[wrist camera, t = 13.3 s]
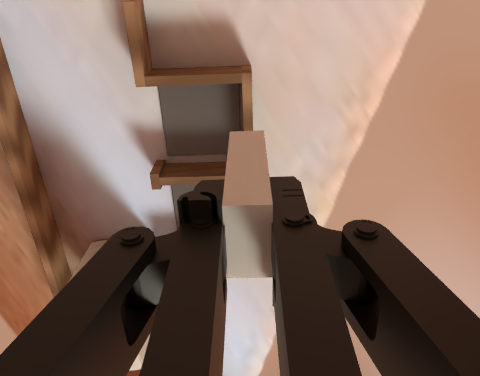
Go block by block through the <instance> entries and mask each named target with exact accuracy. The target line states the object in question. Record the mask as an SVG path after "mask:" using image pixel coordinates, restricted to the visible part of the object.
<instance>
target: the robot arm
mask: <svg viewBox="0 0 480 376" xmlns="http://www.w3.org/2000/svg"><path fill="white" fill-rule="evenodd" d="M177 207H178V214H179V222H180V225H179V229H178V230H177V231H175V232H173V233H170V234H167V235H163V236H158V237H155V236H154V233H153V231H151V230H150V229H149V228H145V227H129V228H125V229H123V230H121V231H118V232H117V233H115V234H114V235H113V236H111V237H110V239H109V240H108V241H107V242H106V243H105V244H104V245H103V246H102V247H101V248H100V249H99V250H98V251H97V252H96V253H95V255H94V256H93V257H92V258H91V259H90V260H89V261H88V262H87V263H86V264H85V265H84V266H83V267H82V268H81V269H80V271H79V272H78V273H77V274H76V275H75V276H74V277H73V278H72V279H71V280H70V281H69V282H68V283H67V284H66V285H65V287H64V288H63V289H62V290H61V291H60V292H59V293H58V294H57V295H56V296H55V297H54V298H53V299H52V300H51V301H50V303H49V304H48V305H47V306H46V307H45V308H44V309H43V310H42V311H41V312H40V313H39V314H38V315H37V316H36V317H35V318H34V320H33V321H32V322H31V323H30V324H29V325H28V326H27V327H26V328H25V329H24V330H23V331H22V332H21V333H20V334H19V336H18V337H17V338H16V339H15V340H14V341H13V342H12V343H11V344H10V345H9V346H8V347H7V348H6V349H5V350H4V352H3V353H2V354H1V355H0V376H126V375H127V373H128V371H129V370H130V368H131V366H132V364H133V363H134V361H135V359H136V357H137V356H138V354H139V352H140V350H141V349H142V347H143V345H144V343H145V342H146V340H147V338H148V336H149V335H150V337H149V341H148V345H147V348H146V352H145V356H144V360H143V363H142V367H141V371H140V374H139V376H222V372H223V354H224V336H225V318H226V300H227V280H226V273H227V278H258V277H273V306H274V309H275V321H276V332H277V344H278V356H279V366H280V376H362V375H361V371H360V368H359V364H358V361H357V357H356V354H355V351H354V347H353V344H352V340H351V337H350V334H349V330H348V327H347V324H346V320H345V318H346V319H347V321H348V322H349V324H350V326H351V327H352V329H353V331H354V332H355V334H356V335H357V337H358V338H359V340H360V342H361V343H362V345H363V346H364V348H365V350H366V351H367V353H368V355H369V356H370V358H371V359H372V361H373V363H374V364H375V366H376V367H377V369H378V371H379V372H380V374H381V375H382V376H480V318H479V317H477V315H476V314H474V312H472V311H471V310H470V309H469V308H468V307H467V306H466V305H465V304H464V303H463V302H462V301H461V300H460V299H459V298H458V297H457V296H456V295H455V294H454V293H453V292H452V291H451V290H450V289H449V288H448V287H447V286H446V285H445V284H444V283H443V282H442V281H441V280H439V279H438V278H437V277H436V276H435V275H434V274H433V273H432V272H431V271H430V270H429V269H428V268H427V267H426V266H425V265H424V264H423V263H422V262H421V261H420V260H419V259H418V258H417V257H416V256H415V255H414V254H413V253H412V252H411V251H410V250H408V248H406V246H404V245H403V244H402V243H401V242H400V241H399V240H398V239H397V238H396V237H395V236H394V235H393V234H392V233H391V232H390V231H389V230H388V229H387V228H386V227H384V226H383V225H381V224H379V223H376V222H374V221H370V220H354V221H351V222H348V223H347V224H345V225H344V226H343V230H342V231H336V230H331V229H326V228H324V227H321V226H319V225H317V221H316V219H315V218H314V216H313V215H311V214H309V210H308V207H307V203H306V200H305V196H304V192H303V189H302V185H301V182H300V181H298V180H297V179H296V178H295V177H294V176H290V177H269V170H268V162H267V154H266V146H265V138H264V131H232V132H230V134H229V144H228V153H227V163H226V173H225V179H219V180H201V181H200V182H199V183H198V184H197V185H196V186H195V188H194V191H190V192H187V193H185V194H183V195H181V196H180V197H179V198H178V200H177ZM344 316H345V317H344Z"/></svg>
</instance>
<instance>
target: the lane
mask: <svg viewBox="0 0 480 376" xmlns="http://www.w3.org/2000/svg"><path fill="white" fill-rule="evenodd" d="M123 8H124V15H125V21H126V27H127V34H128V40H129V46H130V53H131V59H132V65H133V71H134V78H135V84H136V87H149V86H177V85H206V84H234V83H242V95H243V124H244V131H253V112H252V72H251V66H227V67H199V68H172V69H152V63H151V56H150V49H149V42H148V34H147V27H146V20H145V12H144V5H143V0H130V1H123ZM0 140H1V143H2V146H3V149H4V152H5V155H6V158H7V161H8V164H9V167H10V170H11V172H12V175H13V178H14V181H15V184H16V187H17V190H18V193H19V196H20V199H21V202H22V205H23V208H24V211H25V214H26V217H27V220H28V223H29V226H30V229H31V232H32V235H33V238H34V241H35V244H36V247H37V249H38V252H39V255H40V258H41V261H42V264H43V267H44V270H45V273H46V276H47V279H48V282H49V285H50V288H51V291H52V294H53V297H55V296H56V295H57V294H58V293H59V292H60V291H61V290H62V289H63V288H64V287H65V285H66V284H67V283H68V282H69V280H70V278H71V277H72V276H71V272H70V269H69V266H68V262H67V259H66V256H65V252H64V249H63V246H62V242H61V239H60V236H59V232H58V229H57V226H56V222H55V219H54V216H53V212H52V209H51V206H50V202H49V199H48V196H47V192H46V189H45V186H44V182H43V179H42V176H41V172H40V169H39V166H38V162H37V159H36V156H35V152H34V149H33V146H32V142H31V139H30V136H29V132H28V129H27V126H26V122H25V119H24V116H23V112H22V109H21V106H20V102H19V99H18V96H17V92H16V89H15V86H14V82H13V79H12V76H11V72H10V69H9V66H8V62H7V59H6V56H5V52H4V49H3V46H2V42H1V39H0ZM226 163H227V162H206V163H172V164H165V160H157V161H156V163H155V165H154V167H153V169H152V171H151V173H150V179H151V185H152V189H161V187H162V185H194V184H198V183H199V182H200V181H201V180H219V179H225V173H226Z"/></svg>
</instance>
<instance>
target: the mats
mask: <svg viewBox="0 0 480 376" xmlns="http://www.w3.org/2000/svg"><path fill="white" fill-rule="evenodd" d="M158 87H159V94H160V102H161V110H162V117H163V125H164V132H165V140H166V147H167V155H168V156H172V155H205V154H227V153H228V144H229V134H230V132H232V131H240V117H239V91H238V83H234V84H206V85H177V86H158ZM196 185H197V184H194V185H172V193H173V200H174V208H175V215H176V223H177V230H178V229H179V225H180V222H179V214H178V207H177V200H178V198H179V197H180V196H181V195H183V194H185V193H187V192H190V191H194V188H195V186H196Z"/></svg>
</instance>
